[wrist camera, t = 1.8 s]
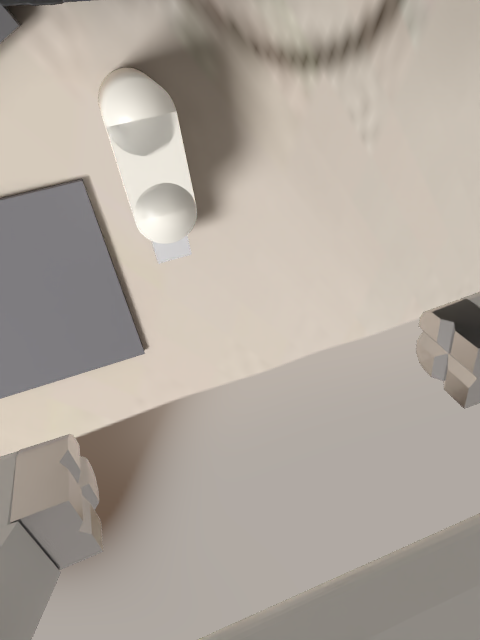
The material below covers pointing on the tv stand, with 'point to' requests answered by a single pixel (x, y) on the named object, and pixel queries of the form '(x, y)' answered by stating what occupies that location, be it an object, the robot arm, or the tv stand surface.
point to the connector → (150, 159)
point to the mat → (57, 291)
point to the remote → (7, 23)
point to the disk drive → (34, 2)
